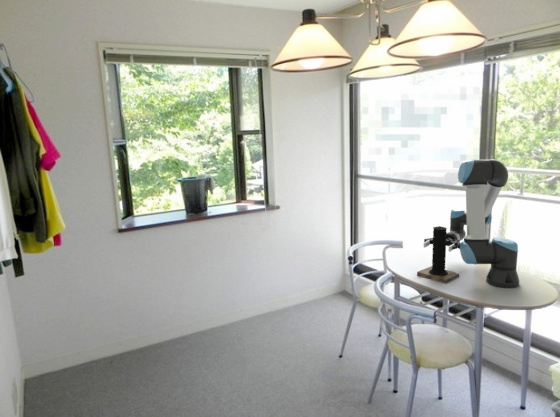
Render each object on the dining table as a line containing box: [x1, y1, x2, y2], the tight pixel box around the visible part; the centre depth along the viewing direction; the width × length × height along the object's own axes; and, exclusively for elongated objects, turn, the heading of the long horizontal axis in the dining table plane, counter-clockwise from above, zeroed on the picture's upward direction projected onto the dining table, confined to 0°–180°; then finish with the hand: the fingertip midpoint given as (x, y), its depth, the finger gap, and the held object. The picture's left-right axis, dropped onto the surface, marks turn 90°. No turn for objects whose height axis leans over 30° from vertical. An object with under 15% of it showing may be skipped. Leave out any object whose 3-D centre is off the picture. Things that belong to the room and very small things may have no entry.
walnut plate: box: [416, 265, 460, 284], centre depth 222 cm, size 17×14×2 cm
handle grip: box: [429, 226, 448, 276], centre depth 219 cm, size 10×26×10 cm
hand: (436, 247), depth 216 cm, fingers open, 13 cm apart
